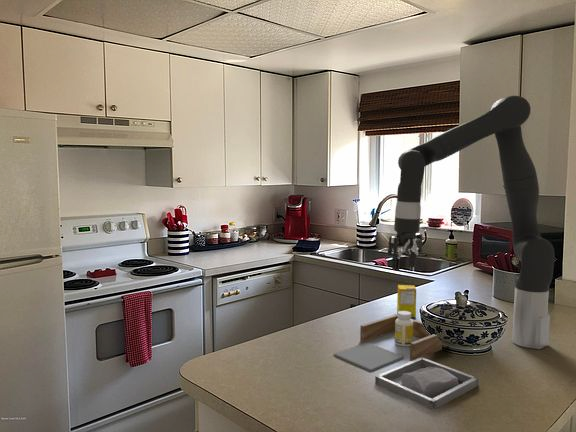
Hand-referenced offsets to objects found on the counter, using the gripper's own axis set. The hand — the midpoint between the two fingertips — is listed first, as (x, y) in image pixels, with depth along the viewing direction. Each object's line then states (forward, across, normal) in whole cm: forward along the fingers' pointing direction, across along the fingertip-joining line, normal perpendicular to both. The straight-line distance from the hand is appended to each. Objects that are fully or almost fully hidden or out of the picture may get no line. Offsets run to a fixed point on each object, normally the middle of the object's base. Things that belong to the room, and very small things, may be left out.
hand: (404, 268), depth 153 cm
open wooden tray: (+23, -2, -3) cm, 23 cm away
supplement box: (+23, +21, +12) cm, 33 cm away
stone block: (+23, -21, -24) cm, 39 cm away
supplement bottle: (+23, -2, -3) cm, 23 cm away
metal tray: (+23, -21, -23) cm, 39 cm away
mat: (+23, -18, -2) cm, 29 cm away
